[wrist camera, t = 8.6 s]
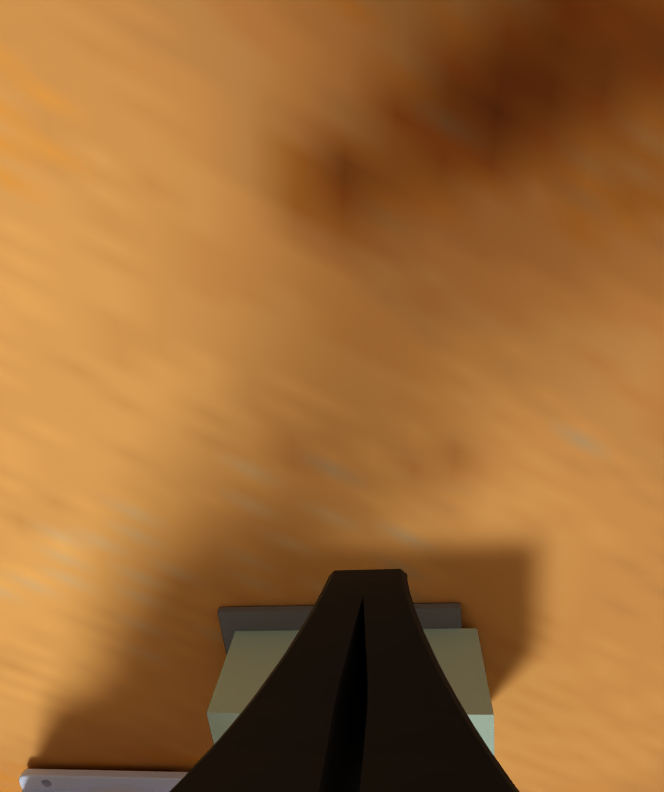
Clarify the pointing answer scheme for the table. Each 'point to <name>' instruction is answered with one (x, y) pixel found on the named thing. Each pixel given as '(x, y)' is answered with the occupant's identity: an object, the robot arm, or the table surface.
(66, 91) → the table surface
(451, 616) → the mat
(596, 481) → the table surface
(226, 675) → the sage block
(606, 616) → the table surface
